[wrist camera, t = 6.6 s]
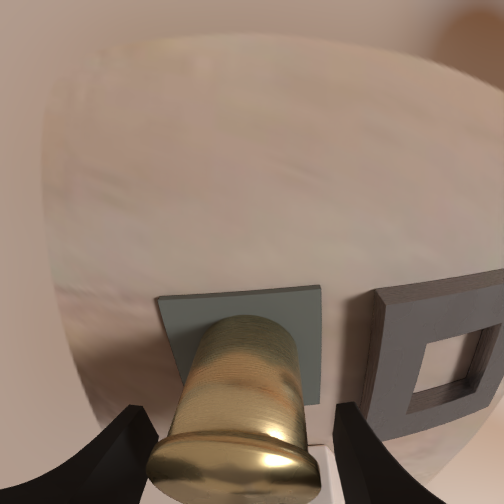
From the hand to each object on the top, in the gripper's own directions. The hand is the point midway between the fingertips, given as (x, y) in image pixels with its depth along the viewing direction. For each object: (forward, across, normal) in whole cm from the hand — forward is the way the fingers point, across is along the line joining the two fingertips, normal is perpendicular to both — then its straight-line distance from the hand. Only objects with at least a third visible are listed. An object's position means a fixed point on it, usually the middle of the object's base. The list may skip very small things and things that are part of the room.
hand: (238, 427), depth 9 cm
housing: (+4, -11, +2) cm, 12 cm away
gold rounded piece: (+4, 0, 0) cm, 4 cm away
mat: (+4, 0, 0) cm, 4 cm away
